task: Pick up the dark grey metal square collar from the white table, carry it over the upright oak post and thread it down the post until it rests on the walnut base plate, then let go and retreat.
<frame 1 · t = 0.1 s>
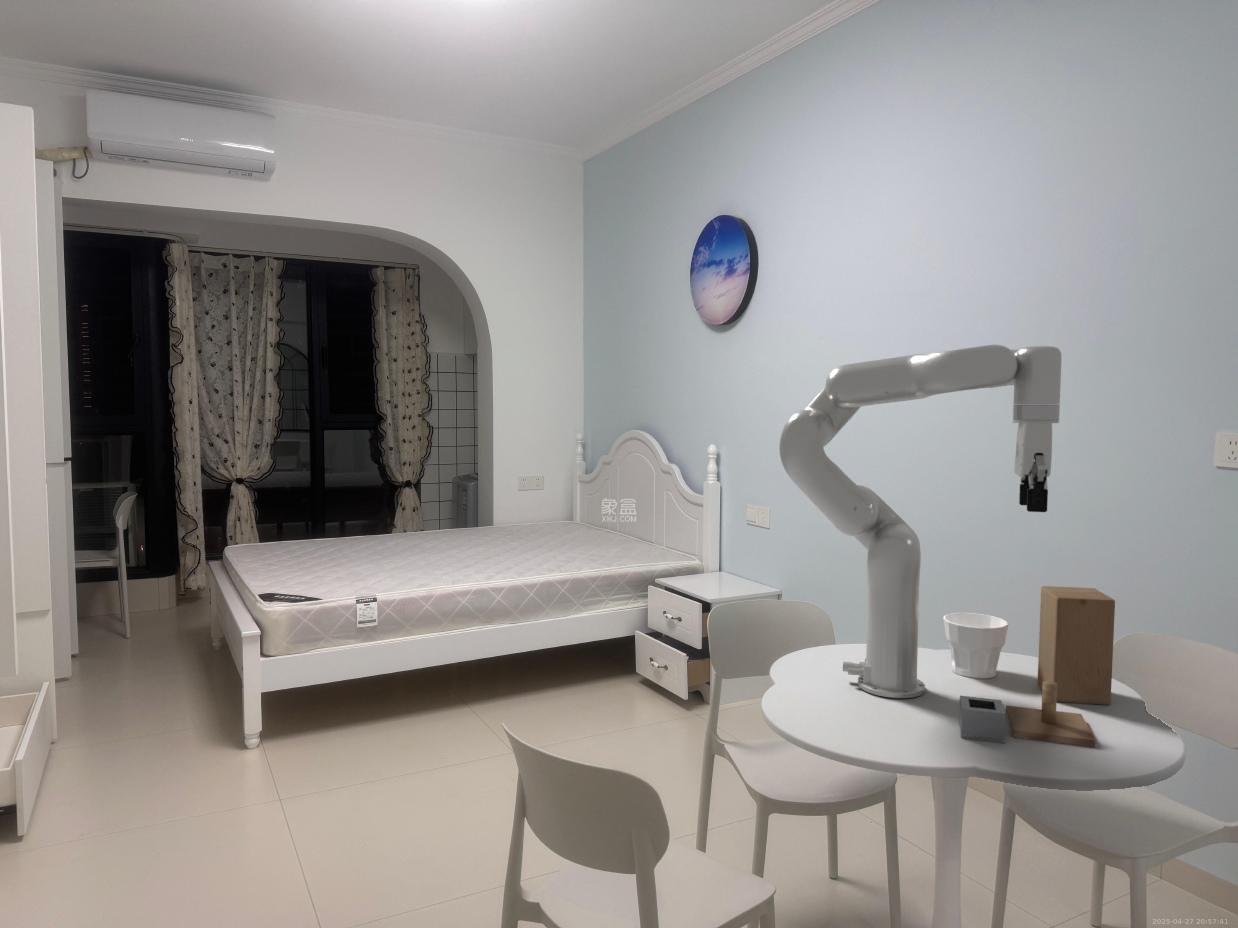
hand: (1032, 508, 149), 37 cm above the table, tool pointing down, fingers open, 9 cm apart
post base: (1048, 728, 140), on the table
wooden block: (1072, 695, 156), on the table
collar: (981, 732, 138), on the table
cup: (973, 672, 169), on the table
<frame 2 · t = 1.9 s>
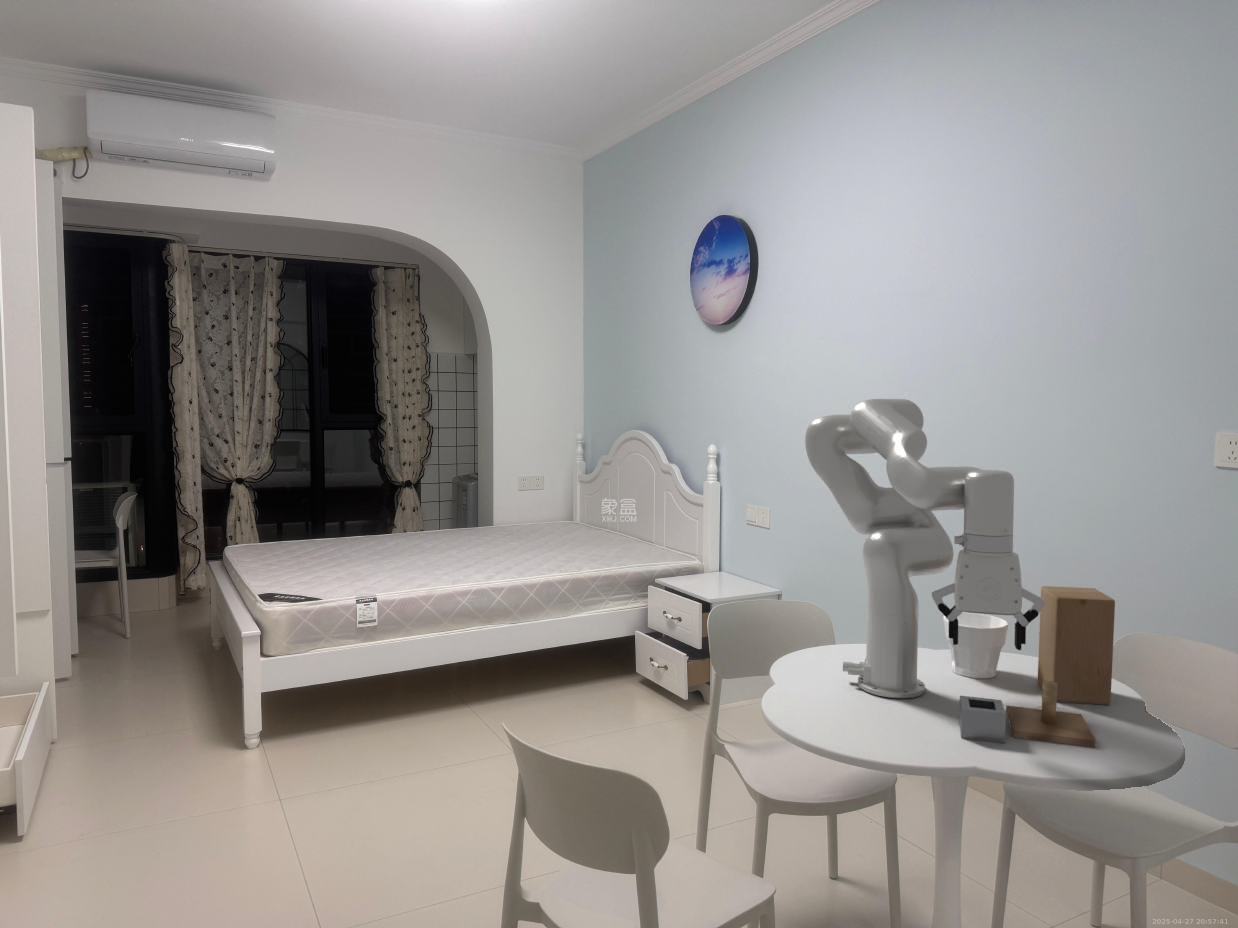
hand: (986, 645, 136), 15 cm above the table, tool pointing down, fingers open, 9 cm apart
nothing on the table moved.
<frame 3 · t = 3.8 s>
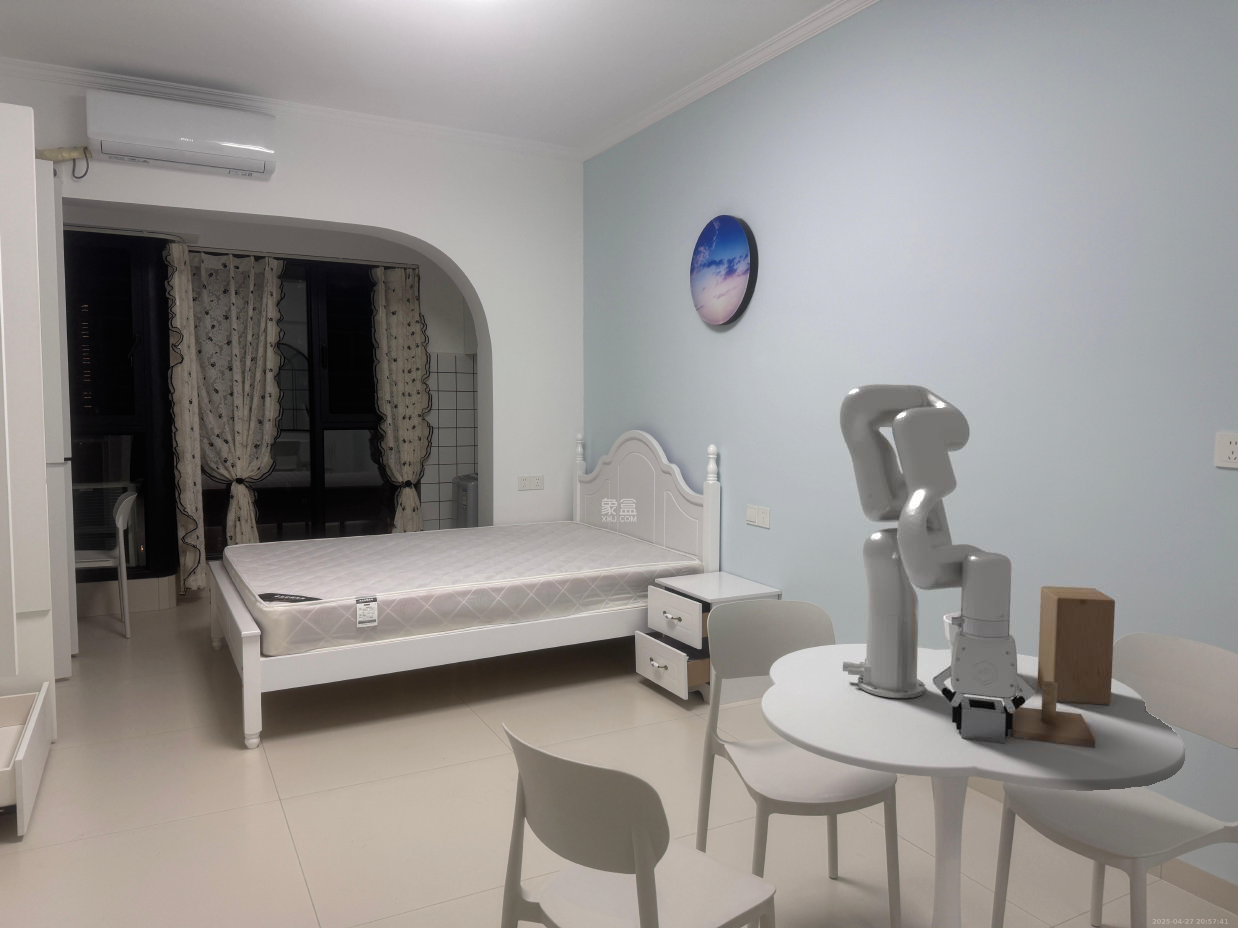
hand: (981, 728, 138), 1 cm above the table, tool pointing down, fingers closed on collar, 6 cm apart
collar: (981, 733, 138), on the table, touching gripper
everything else where it was.
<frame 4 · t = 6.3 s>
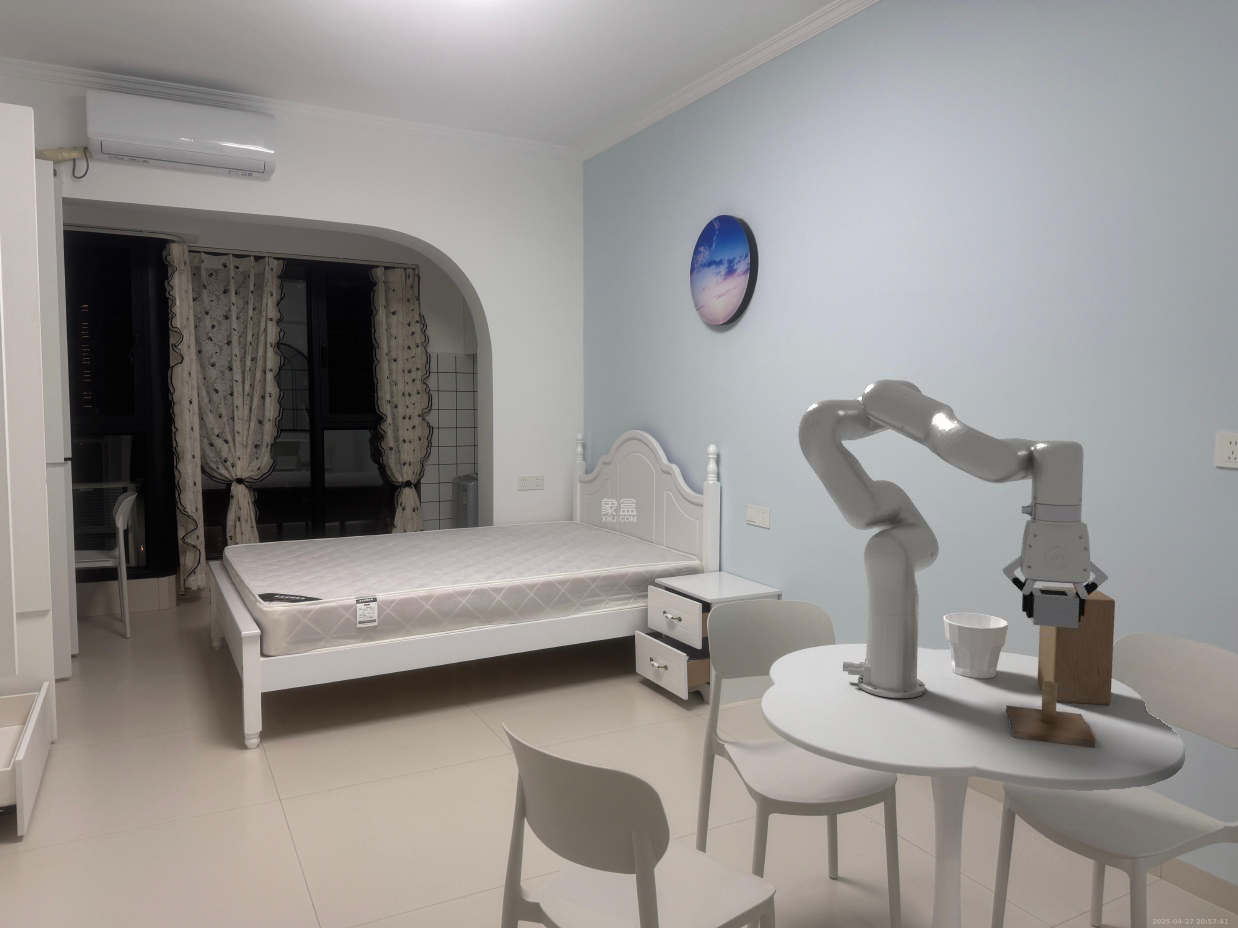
hand: (1052, 617, 138), 20 cm above the table, tool pointing down, fingers closed on collar, 6 cm apart
collar: (1052, 621, 138), point 19 cm above the table, touching gripper
everything else where it was.
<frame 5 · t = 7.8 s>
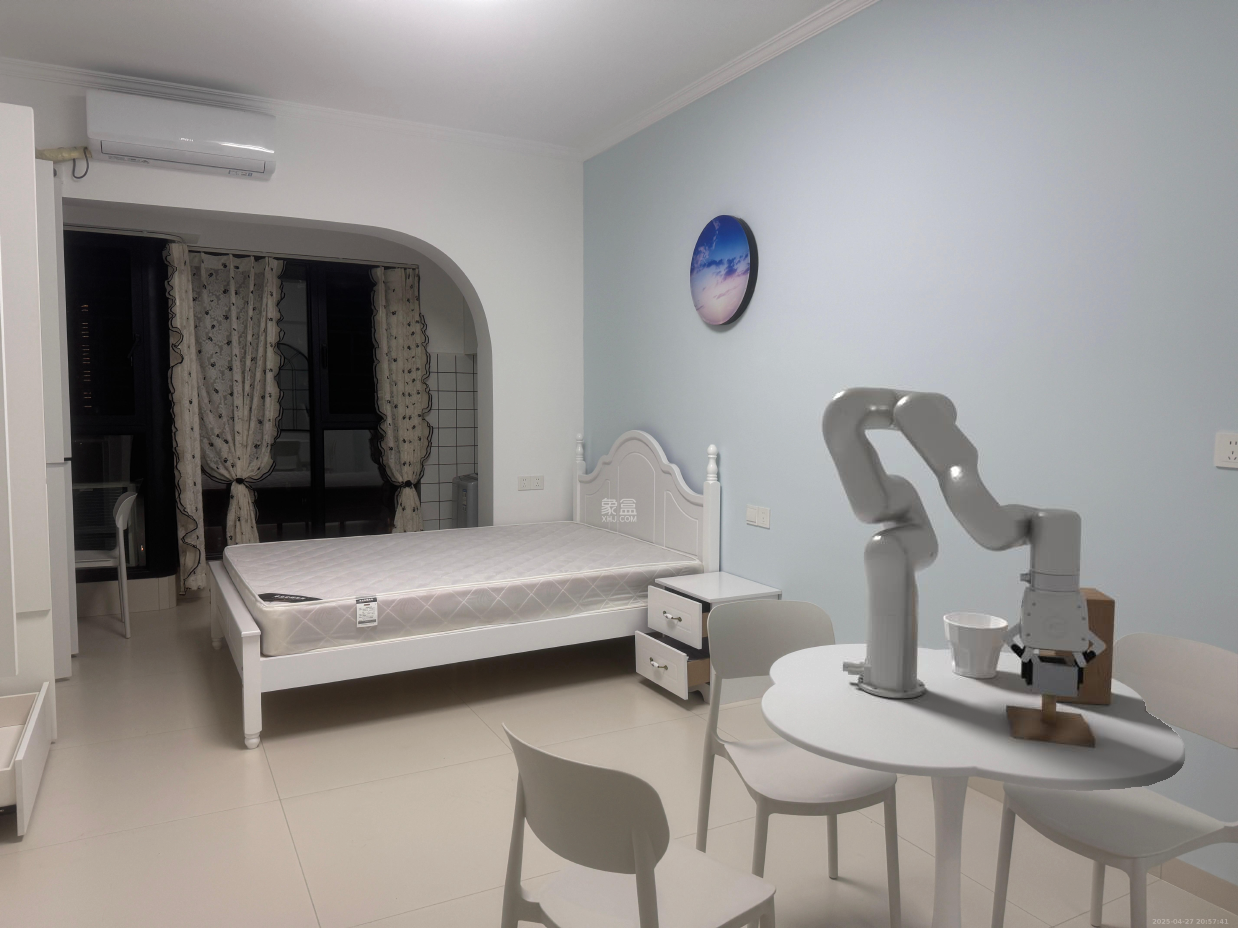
hand: (1051, 684, 139), 8 cm above the table, tool pointing down, fingers closed on collar, 6 cm apart
collar: (1051, 688, 139), point 7 cm above the table, touching gripper
everything else where it was.
when the fingers open (4 cm above the table, at t = 9.1 s): collar drops 2 cm, resting on post base.
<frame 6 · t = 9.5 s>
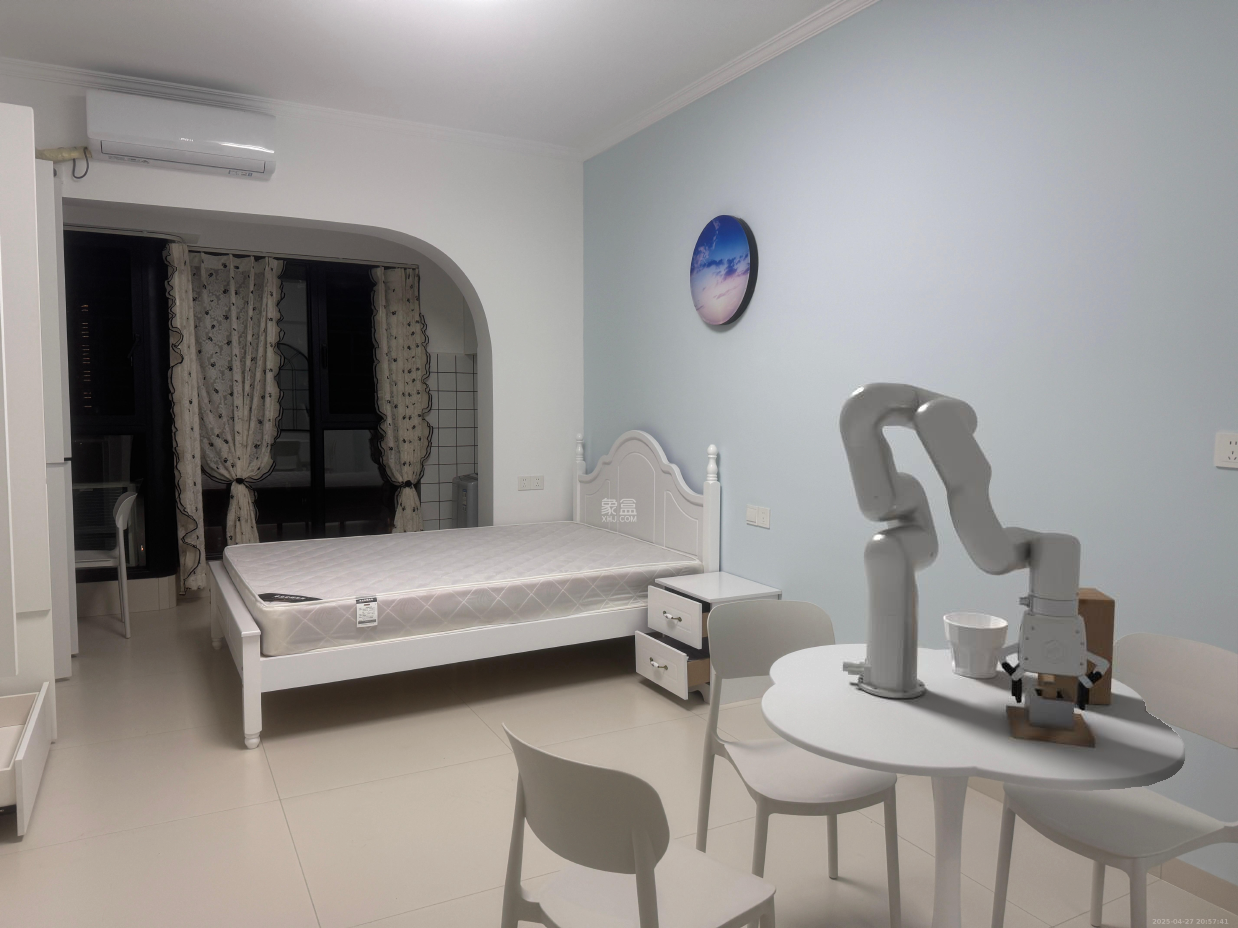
hand: (1049, 704, 139), 4 cm above the table, tool pointing down, fingers open, 9 cm apart
collar: (1047, 721, 139), point 1 cm above the table, touching post base
everything else where it was.
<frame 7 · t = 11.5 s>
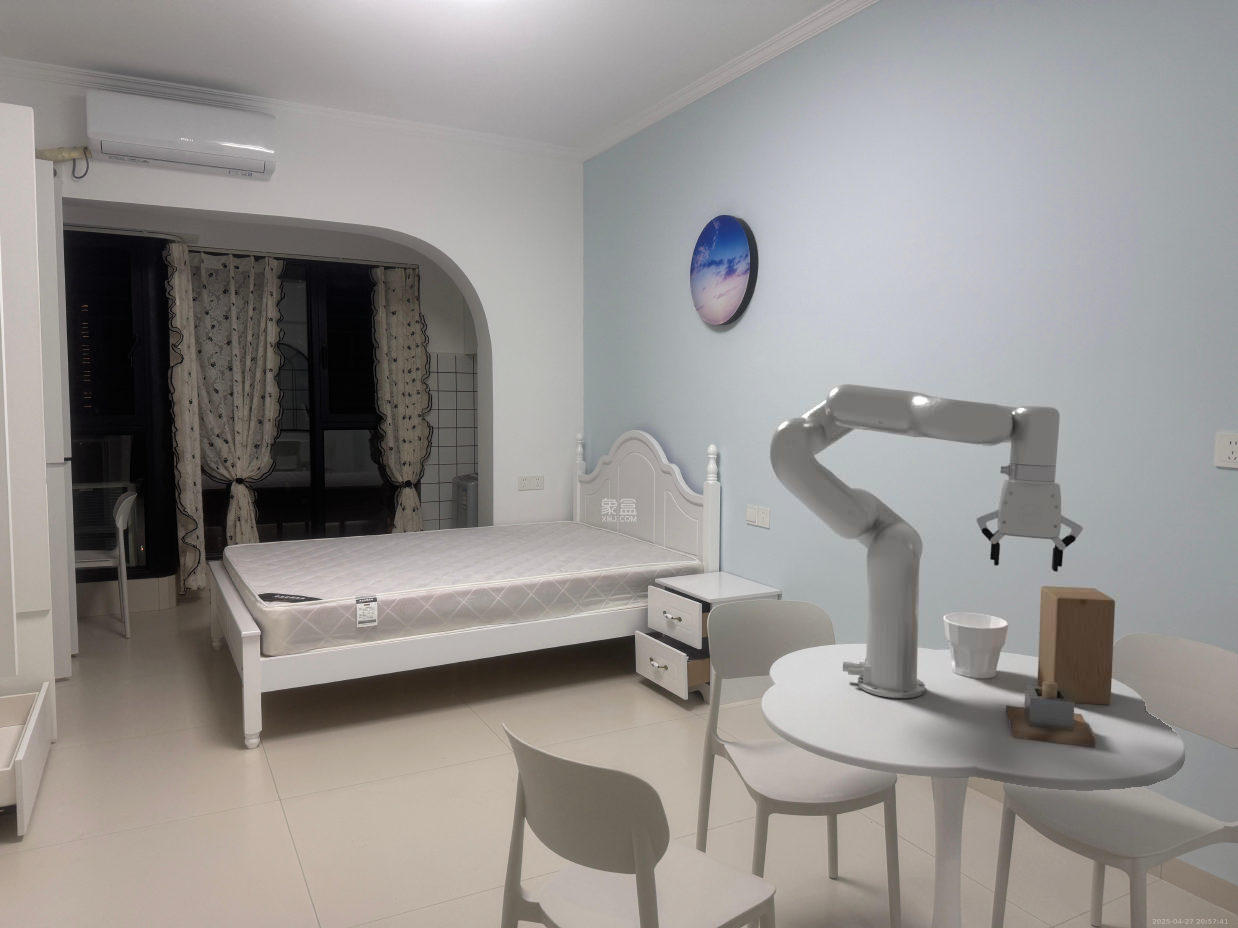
hand: (1024, 567, 149), 26 cm above the table, tool pointing down, fingers open, 9 cm apart
nothing on the table moved.
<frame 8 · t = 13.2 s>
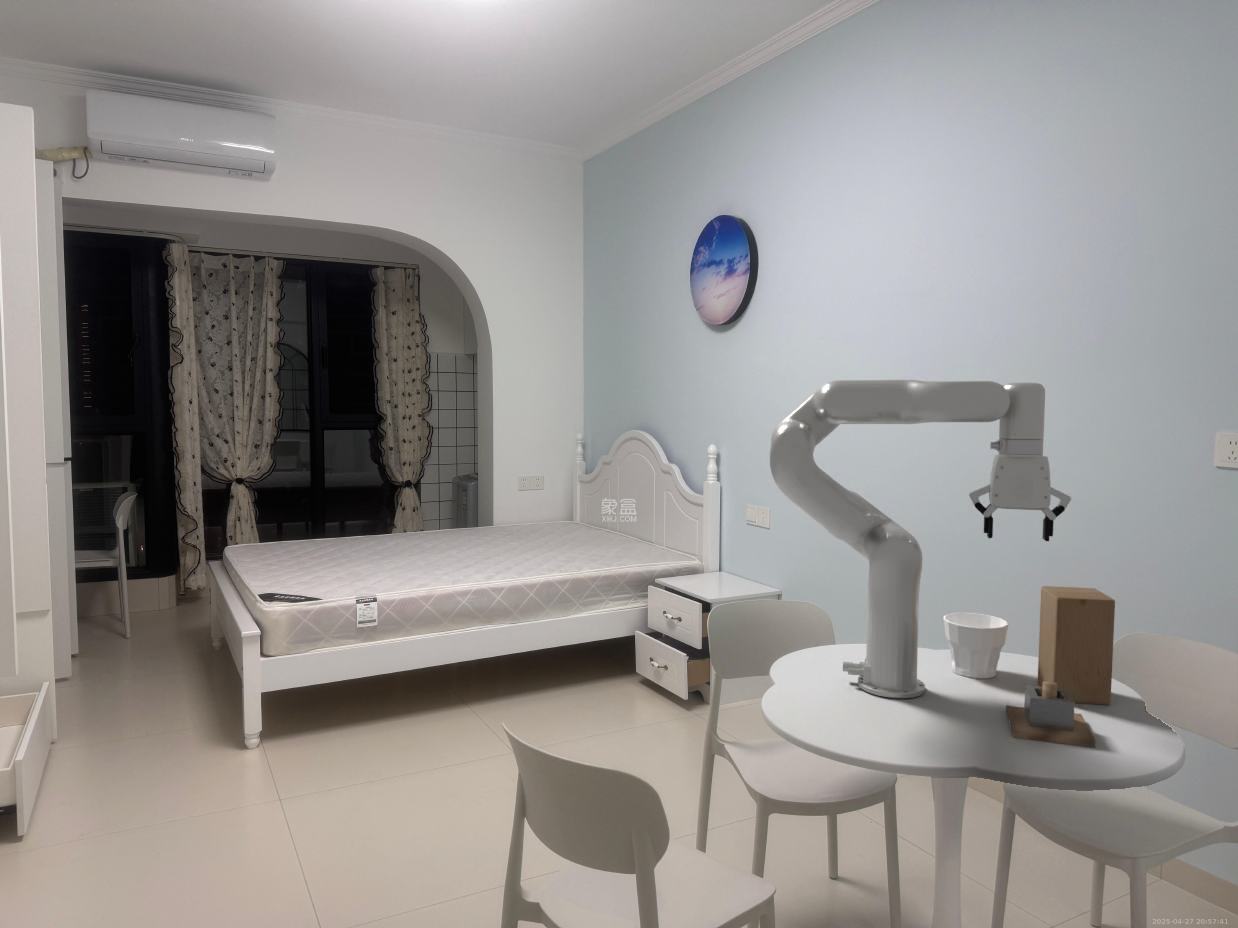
hand: (1017, 538, 154), 30 cm above the table, tool pointing down, fingers open, 9 cm apart
nothing on the table moved.
at the end: collar 0.1 cm off-centre on the post base, point 1.2 cm above the post base's base; collar tilted 0°; the gripper is holding nothing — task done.
